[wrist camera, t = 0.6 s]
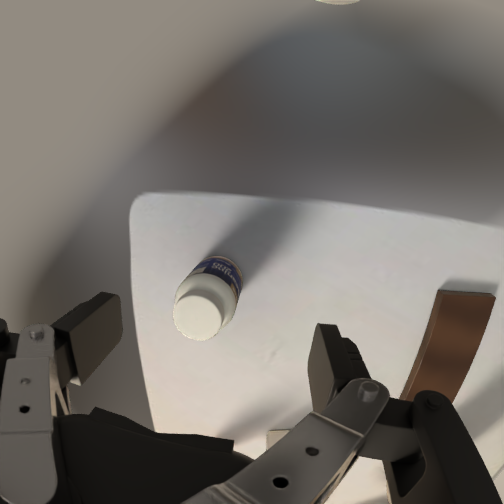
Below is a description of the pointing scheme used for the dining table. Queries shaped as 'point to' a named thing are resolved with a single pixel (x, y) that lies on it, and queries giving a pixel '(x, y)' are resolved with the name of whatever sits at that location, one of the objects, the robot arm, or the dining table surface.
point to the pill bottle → (207, 298)
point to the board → (449, 343)
